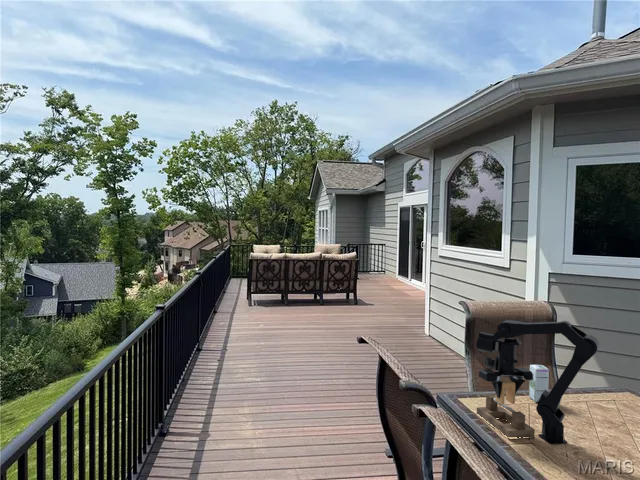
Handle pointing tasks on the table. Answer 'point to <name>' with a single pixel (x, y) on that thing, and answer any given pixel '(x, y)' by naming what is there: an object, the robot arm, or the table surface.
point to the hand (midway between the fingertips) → (505, 397)
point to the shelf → (516, 418)
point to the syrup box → (538, 381)
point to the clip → (507, 392)
